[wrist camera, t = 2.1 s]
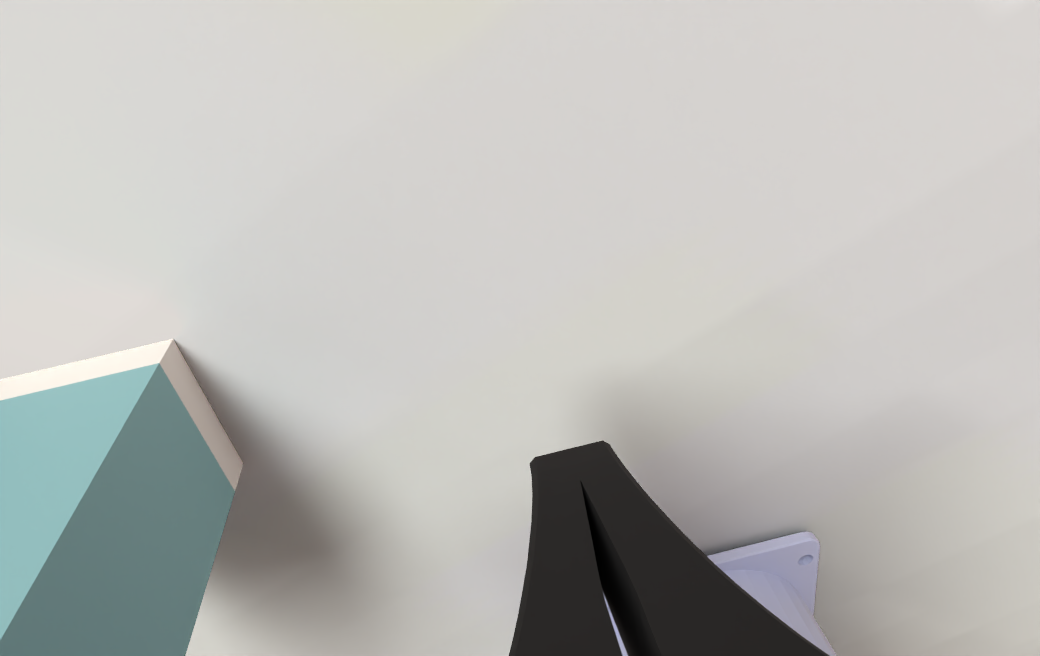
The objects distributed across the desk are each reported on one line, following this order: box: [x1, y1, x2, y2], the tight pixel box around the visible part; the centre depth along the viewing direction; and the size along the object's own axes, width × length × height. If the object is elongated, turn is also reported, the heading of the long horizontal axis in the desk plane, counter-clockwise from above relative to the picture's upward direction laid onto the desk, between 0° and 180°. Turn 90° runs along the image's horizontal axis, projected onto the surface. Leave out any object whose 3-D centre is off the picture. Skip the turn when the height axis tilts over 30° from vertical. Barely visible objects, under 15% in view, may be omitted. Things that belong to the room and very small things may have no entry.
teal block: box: [0, 339, 243, 656], centre depth 13 cm, size 4×4×8 cm
